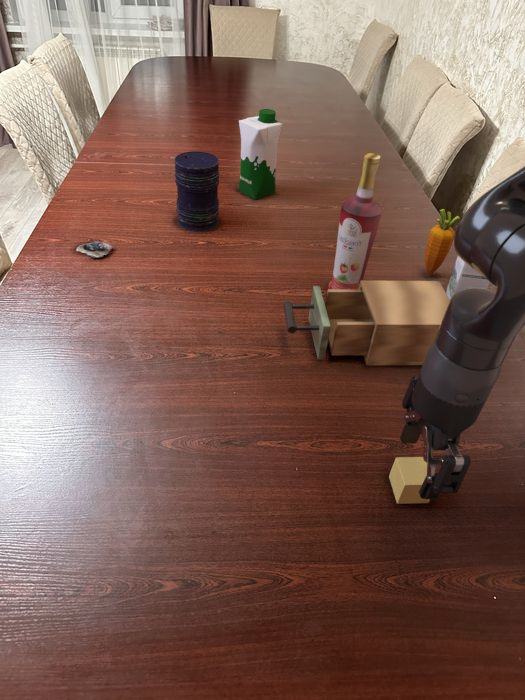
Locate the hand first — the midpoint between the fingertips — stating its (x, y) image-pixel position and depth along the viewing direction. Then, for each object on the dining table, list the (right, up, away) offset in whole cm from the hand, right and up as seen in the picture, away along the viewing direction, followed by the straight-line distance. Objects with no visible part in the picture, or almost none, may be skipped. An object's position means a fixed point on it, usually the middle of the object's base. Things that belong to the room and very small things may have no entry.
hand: (417, 467), depth 68 cm
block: (0, -4, +3) cm, 5 cm away
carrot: (+16, +31, +45) cm, 57 cm away
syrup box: (+18, +22, +35) cm, 45 cm away
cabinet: (+5, +17, +27) cm, 32 cm away
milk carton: (-22, +57, +71) cm, 93 cm away
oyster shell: (-56, +36, +44) cm, 80 cm away
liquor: (-3, +27, +38) cm, 46 cm away
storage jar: (-35, +46, +57) cm, 81 cm away
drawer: (-7, +17, +26) cm, 32 cm away
